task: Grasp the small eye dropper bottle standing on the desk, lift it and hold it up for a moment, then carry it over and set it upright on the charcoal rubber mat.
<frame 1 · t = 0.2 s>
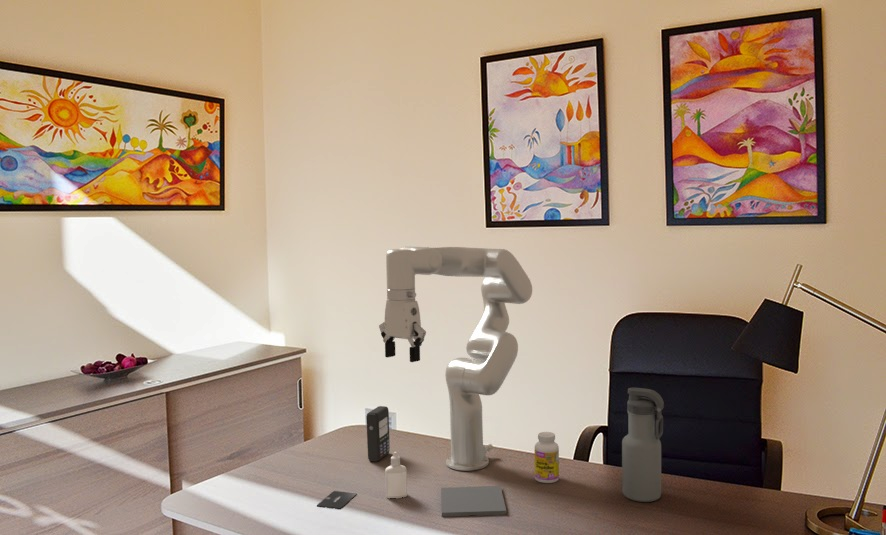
hand: (402, 358, 197), 36 cm above the table, tool pointing down, fingers open, 9 cm apart
charcoal mat: (472, 502, 190), on the table
eye dropper bottle: (396, 496, 195), on the table
solid state drive: (337, 502, 194), on the table
water bottle: (642, 496, 191), on the table
card reader: (379, 458, 226), on the table
supplement bottle: (546, 480, 204), on the table
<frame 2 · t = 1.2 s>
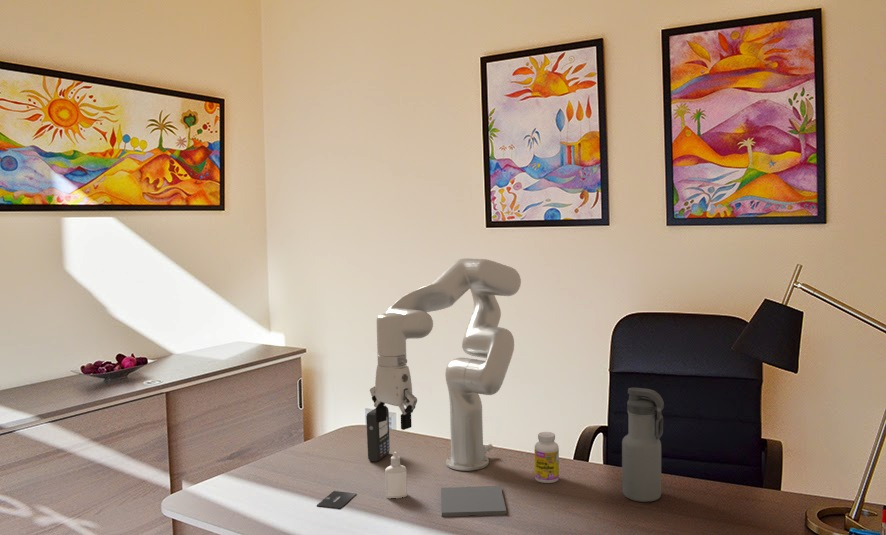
hand: (393, 424, 193), 19 cm above the table, tool pointing down, fingers open, 9 cm apart
nothing on the table moved.
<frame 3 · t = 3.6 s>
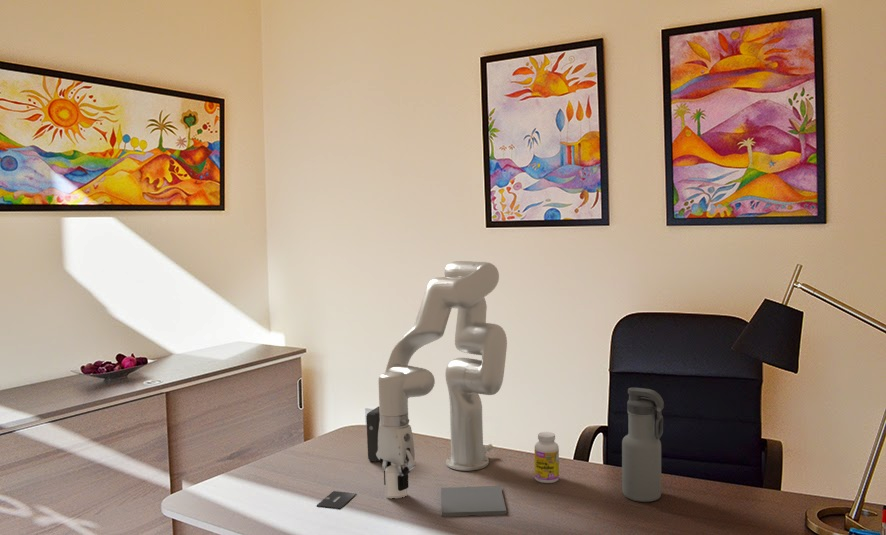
hand: (396, 485, 195), 3 cm above the table, tool pointing down, fingers closed on eye dropper bottle, 4 cm apart
eye dropper bottle: (396, 496, 195), on the table, touching gripper
everything else where it was.
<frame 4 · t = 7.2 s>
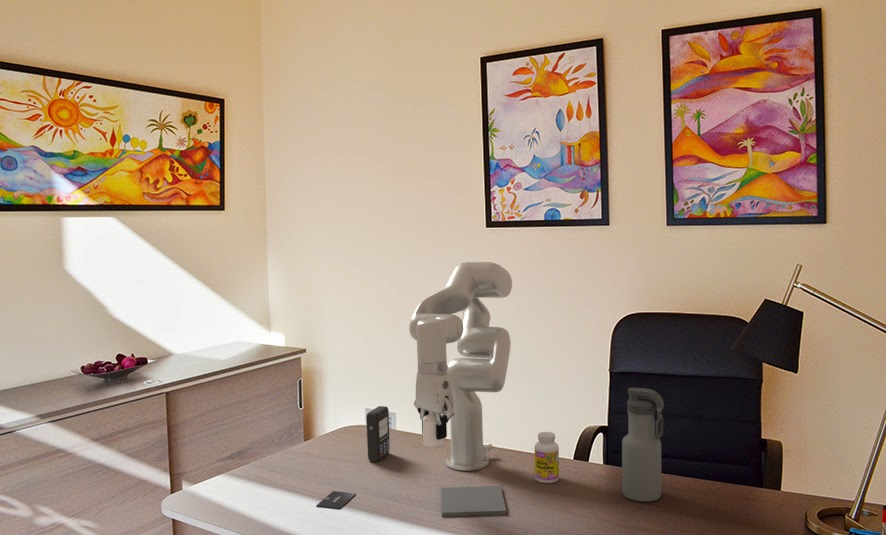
hand: (434, 435, 191), 17 cm above the table, tool pointing down, fingers closed on eye dropper bottle, 4 cm apart
eye dropper bottle: (434, 446, 191), point 14 cm above the table, touching gripper
everything else where it was.
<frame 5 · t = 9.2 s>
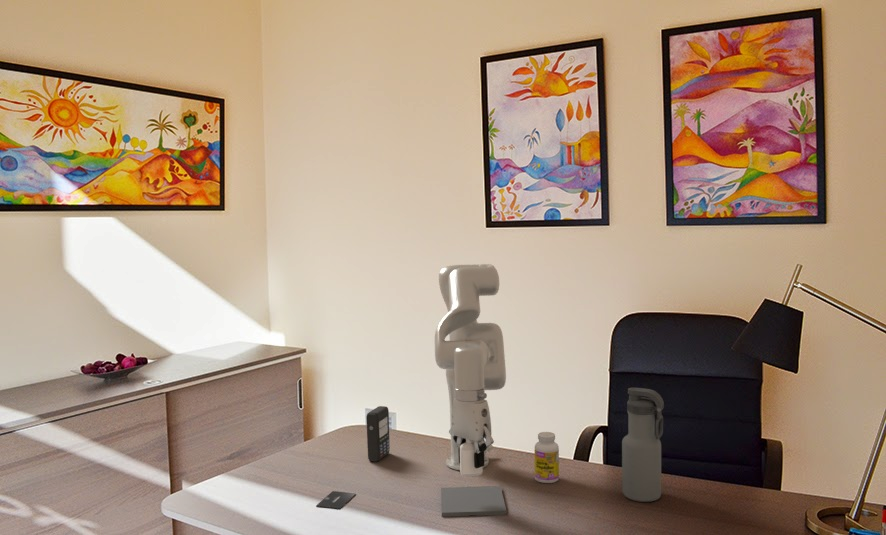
hand: (471, 463, 189), 10 cm above the table, tool pointing down, fingers closed on eye dropper bottle, 4 cm apart
eye dropper bottle: (471, 475, 189), point 7 cm above the table, touching gripper
everything else where it was.
when the fingers open (5 cm above the table, at t = 10.9 s): eye dropper bottle drops 1 cm, resting on charcoal mat.
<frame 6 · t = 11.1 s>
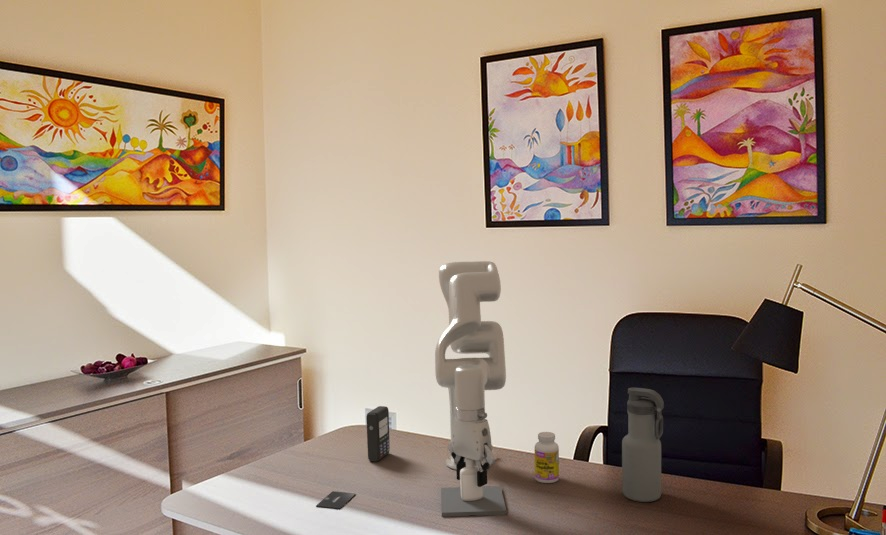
hand: (471, 481, 189), 6 cm above the table, tool pointing down, fingers open, 6 cm apart
eye dropper bottle: (472, 498, 190), point 1 cm above the table, touching charcoal mat
everything else where it was.
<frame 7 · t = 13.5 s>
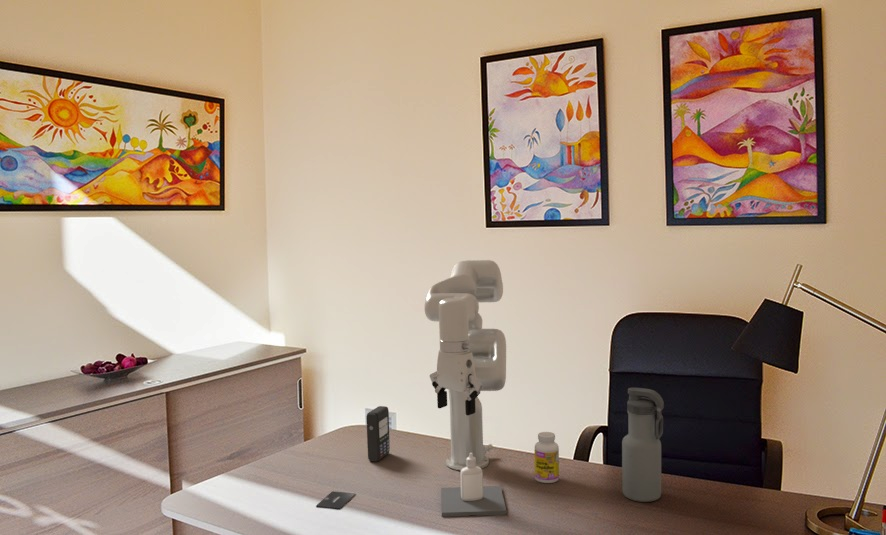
hand: (456, 410, 192), 23 cm above the table, tool pointing down, fingers open, 9 cm apart
nothing on the table moved.
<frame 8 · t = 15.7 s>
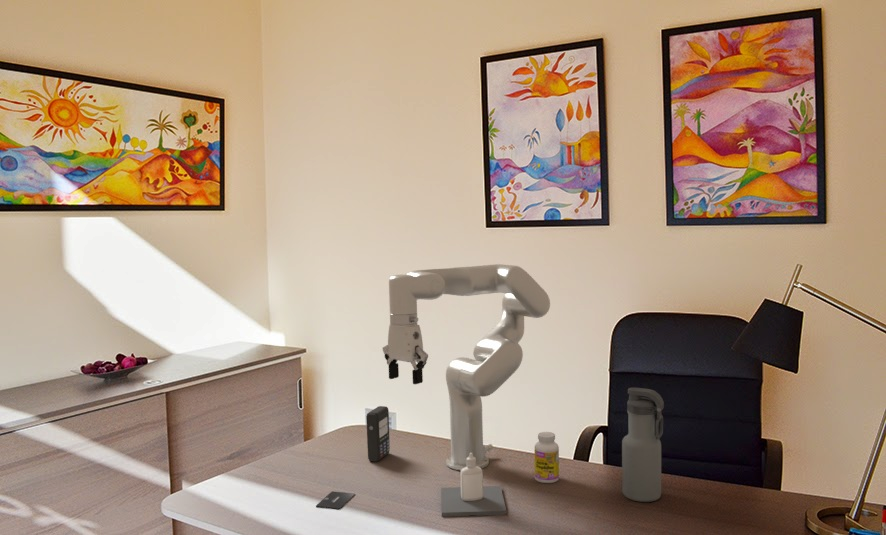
hand: (405, 380, 204), 28 cm above the table, tool pointing down, fingers open, 9 cm apart
nothing on the table moved.
at the end: eye dropper bottle inside the target area on the charcoal mat (0.1 cm from its centre), point 0.8 cm above the charcoal mat's base; eye dropper bottle tilted 0°; the gripper is holding nothing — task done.
